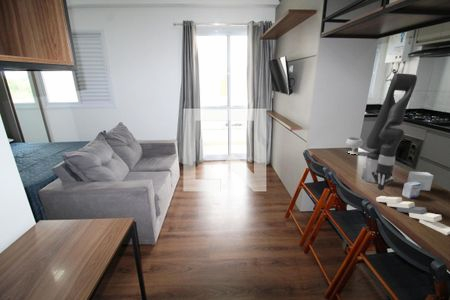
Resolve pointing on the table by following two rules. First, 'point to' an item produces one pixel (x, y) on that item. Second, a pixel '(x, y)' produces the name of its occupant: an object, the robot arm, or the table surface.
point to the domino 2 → (402, 204)
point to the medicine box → (411, 189)
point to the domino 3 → (413, 210)
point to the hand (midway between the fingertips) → (380, 189)
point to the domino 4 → (426, 216)
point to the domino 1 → (389, 199)
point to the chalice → (354, 144)
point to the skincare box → (421, 179)
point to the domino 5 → (436, 226)
